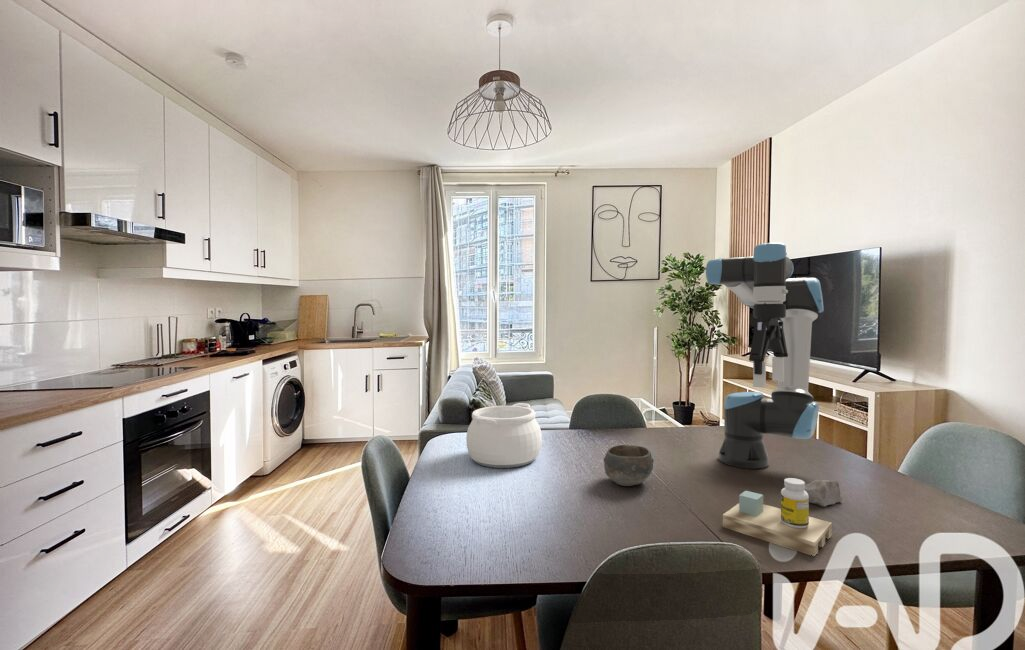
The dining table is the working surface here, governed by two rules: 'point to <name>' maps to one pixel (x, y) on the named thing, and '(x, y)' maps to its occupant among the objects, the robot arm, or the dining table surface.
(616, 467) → the bowl
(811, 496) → the stone
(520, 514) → the dining table surface
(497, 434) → the pot
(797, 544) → the pallet
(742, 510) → the pale blue cube
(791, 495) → the supplement bottle
